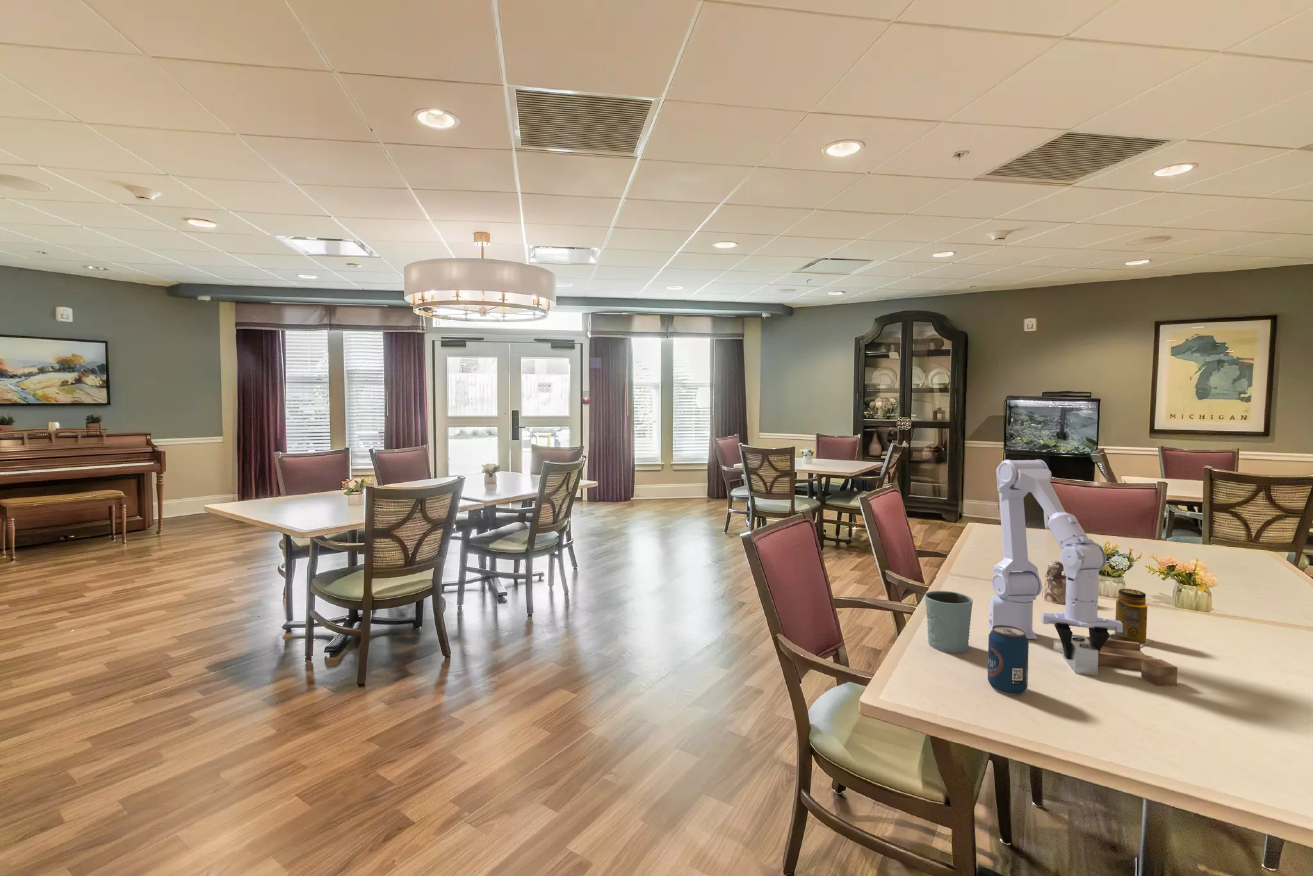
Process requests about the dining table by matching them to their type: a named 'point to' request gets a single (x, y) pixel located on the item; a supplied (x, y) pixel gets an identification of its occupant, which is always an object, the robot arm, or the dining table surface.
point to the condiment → (1131, 617)
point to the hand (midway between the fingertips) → (1079, 659)
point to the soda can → (1008, 660)
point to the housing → (1083, 656)
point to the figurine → (1055, 584)
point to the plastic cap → (1058, 646)
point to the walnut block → (1159, 672)
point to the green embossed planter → (948, 620)
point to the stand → (1121, 654)
